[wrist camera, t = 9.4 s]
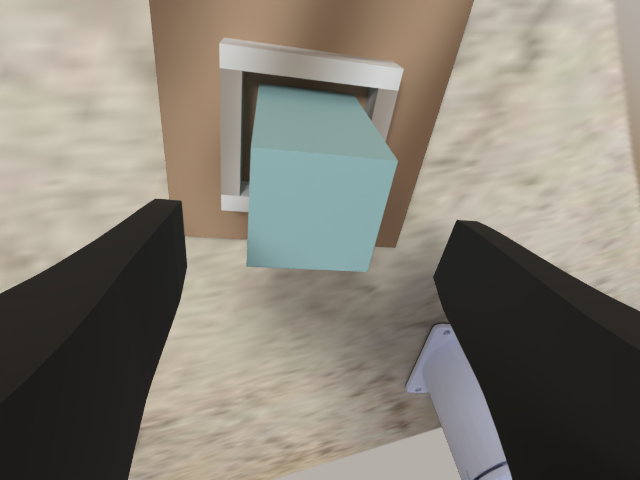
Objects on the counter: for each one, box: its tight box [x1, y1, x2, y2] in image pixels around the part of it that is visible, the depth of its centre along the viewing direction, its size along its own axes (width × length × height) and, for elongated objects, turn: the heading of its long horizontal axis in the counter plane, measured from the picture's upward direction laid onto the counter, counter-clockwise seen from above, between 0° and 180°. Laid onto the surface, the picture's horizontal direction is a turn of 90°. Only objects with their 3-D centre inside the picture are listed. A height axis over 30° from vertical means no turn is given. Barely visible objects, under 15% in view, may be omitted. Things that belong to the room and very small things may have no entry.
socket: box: [149, 0, 474, 248], centre depth 16 cm, size 12×12×2 cm
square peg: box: [247, 83, 398, 272], centre depth 14 cm, size 4×4×7 cm
